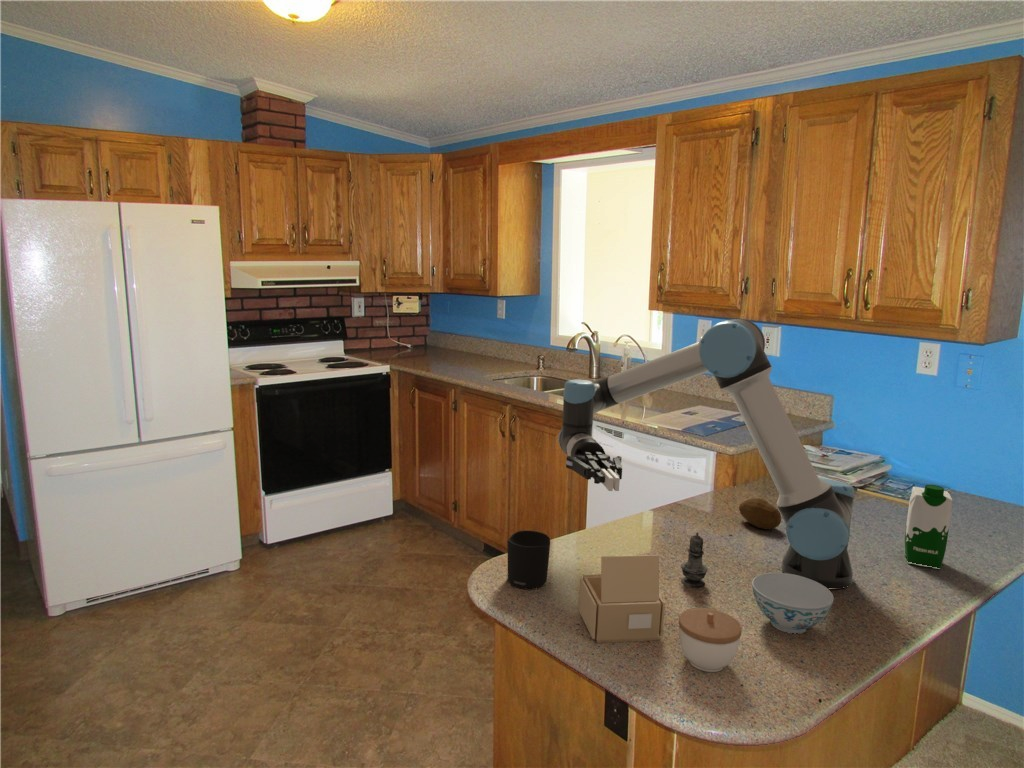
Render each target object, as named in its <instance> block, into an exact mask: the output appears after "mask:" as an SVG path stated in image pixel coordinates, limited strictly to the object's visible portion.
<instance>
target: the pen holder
mask: <svg viewBox="0 0 1024 768" xmlns="http://www.w3.org/2000/svg"><path fill="white" fill-rule="evenodd" d="M550 547H551V538H550V536H549V535H548V534H546V533H544V532H540V531H537V530H536V531H535V530H519V531H516V532H514V533H513V534H512V535H511V536H510V537H509V538H508V539H507V580H508V582H509V584H510V585H511V586H512V587H514V588H517V589H521V590H536V588H537V589H540V588H542V587H544V586H545V585H546V583H547V580H548V572H549V571H548V570H549V560H550V559H549V558H550V549H551V548H550Z"/></svg>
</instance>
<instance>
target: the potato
mask: <svg viewBox="0 0 1024 768" xmlns="http://www.w3.org/2000/svg"><path fill="white" fill-rule="evenodd" d="M738 509H739V510H738V511H739V513H740V515H741V516H742V518H744V519H745V520H746V521H747V522H748V523H749V524H751V525H752V526H754V527H756V528H758V529H761V528H762V529H761V530H773V529H775V528H778V527H779V526H780V524H781V522H782V514H781V512H780V510H779V508H778V507H775V506H774V505H773V504H771V503H770V502H769V501H767V500H765V498H750V499H746V500H744V501H743V502H741V503H740V504H739V506H738Z"/></svg>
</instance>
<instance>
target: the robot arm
mask: <svg viewBox="0 0 1024 768" xmlns="http://www.w3.org/2000/svg"><path fill="white" fill-rule="evenodd" d="M765 347H766V340H765V335H764V333H763V331H762V329H761V328H760V327H759V326H758V325H757V324H756V323H755V322H753V321H751V320H748V319H745V318H732V319H726V320H722V321H719V322H717V323H715V324H714V325H712V326H711V327H710V328H709V329H707V331H705V333H704V334H703V335H701V337H700V339H699V341H698V342H695V343H692V344H690V345H688V346H685V347H683V348H679V349H677V350H675V351H672V352H669V353H666V354H664V355H661V356H659V357H657V358H654V359H651V360H648V361H646V362H644V363H641V364H638V365H635V366H633V367H631V368H628V369H626V370H623V371H620V372H618V373H615V374H612V375H610V376H608V377H604V378H602V379H600V380H597V381H594V382H593V381H591V380H588V379H568V380H566V382H565V383H564V388H563V389H564V390H563V395H562V397H563V402H562V403H563V404H562V405H563V406H562V407H563V408H562V425H561V429H560V431H559V433H558V435H557V439H558V443H559V446H560V448H561V451H562V452H563V453H564V454H565V455H566V461H565V462H566V464H565V469H566V468H567V469H569V470H572V471H574V472H575V473H576V474H578V475H579V476H581V477H582V478H584V479H586V480H588V481H589V480H592V479H594V484H597V485H599V484H602V485H603V486H604V487H605V488H606V490H607V491H609V492H613V490H614V492H620V480H622V479H623V478H622V477H623V465H622V456H620V455H618V456H616V457H612V458H611V456H610V455H608V454H606V451H605V449H604V448H603V447H602V445H601V444H600V443H599V442H598V441H597V440H596V439H594V437H593V424H594V423H593V422H594V414H595V413H598V412H600V411H604V410H606V409H609V408H611V407H614V406H616V405H619V404H621V403H624V402H628V401H630V400H634V399H636V398H639V397H641V396H644V395H648V394H651V393H652V392H655V391H658V390H661V389H664V388H668V387H669V386H672V385H675V384H678V383H680V382H684V381H687V380H689V379H691V378H695V377H697V376H700V375H703V374H706V373H710V374H712V375H713V376H714V379H715V380H716V382H717V384H718V387H719V389H720V391H723V392H724V393H725V392H726V393H728V394H730V395H731V397H732V399H733V400H734V401H733V402H734V403H735V405H736V407H737V409H738V411H739V413H740V415H741V417H742V419H743V422H744V424H745V426H746V428H747V430H748V432H749V434H750V436H751V438H752V440H753V442H754V444H755V447H756V448H757V450H758V452H759V454H760V457H761V459H762V460H763V462H764V465H765V466H766V469H767V470H768V473H769V475H770V477H771V479H772V481H773V483H774V485H775V488H776V489H777V491H778V493H779V495H778V499H777V501H776V506H777V509H778V511H779V512H780V515H781V518H782V519H783V520H784V523H785V525H786V527H785V531H786V532H785V534H786V538H787V541H788V543H789V546H788V548H787V550H786V552H785V554H784V556H783V558H782V563H781V571H782V573H783V572H784V573H787V574H793V575H798V576H802V577H805V578H808V579H811V580H813V581H816V582H818V583H820V584H822V585H823V586H825V587H826V588H843V587H847V586H849V585H850V584H851V583H853V578H854V577H853V576H854V575H853V568H852V564H851V559H850V555H849V551H848V546H849V542H850V536H851V522H852V515H853V508H854V507H853V506H854V500H855V498H856V496H855V488H854V487H853V486H852V485H850V484H849V483H846V482H843V481H839V480H834V479H829V478H823V477H821V478H820V477H819V476H818V474H817V472H816V471H815V468H814V466H813V464H812V462H811V460H810V458H809V456H808V455H807V454H808V453H807V452H806V450H805V449H804V446H803V444H802V442H801V440H800V438H799V436H798V434H797V431H796V429H795V427H794V426H793V424H792V421H791V420H790V417H789V415H788V413H787V411H786V409H785V408H784V405H783V404H782V402H781V399H780V397H779V395H778V393H777V392H776V389H775V388H774V385H773V383H772V381H771V379H770V374H771V373H772V369H773V366H772V364H771V362H770V361H769V359H768V356H767V354H766V352H765ZM851 585H852V584H851ZM851 585H850V586H851ZM850 586H849V587H850ZM847 588H848V587H847Z"/></svg>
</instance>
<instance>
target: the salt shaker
mask: <svg viewBox="0 0 1024 768" xmlns="http://www.w3.org/2000/svg"><path fill="white" fill-rule="evenodd" d="M699 534H700V533H699V532H698V531H697V532H695V535H691V537H690V538H689V548H688V549H687V553H688V556H687V557H688V559H687V562H683V563H681V565H680V568H681V572H682V575H683V576H684V577H683V578H681V579H680V582H681V584H683V585H684V586H685V587H688V588H692V589H700V588H701V589H702V588H704V587H706V582H705V581H704V580H703V579H705V577H706V575H707V573H708V571H709V569H708V567H707V566H706V565H704V564H703V555H704V554H705V552H704V548H703V546H704V538H703V537H702V536H700V535H699Z"/></svg>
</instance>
